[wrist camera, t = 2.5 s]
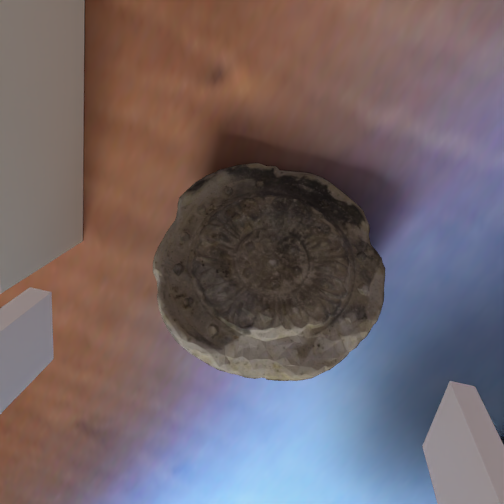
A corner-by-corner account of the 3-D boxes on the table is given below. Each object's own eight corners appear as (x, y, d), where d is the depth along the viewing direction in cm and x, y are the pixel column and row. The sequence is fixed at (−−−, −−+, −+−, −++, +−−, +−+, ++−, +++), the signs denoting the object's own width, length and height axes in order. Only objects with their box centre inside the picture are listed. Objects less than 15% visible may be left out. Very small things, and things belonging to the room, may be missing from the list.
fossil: (374, 140, 21) (413, 319, 14) (367, 263, 27) (391, 422, 21) (158, 162, 22) (102, 330, 16) (202, 272, 29) (176, 422, 23)
